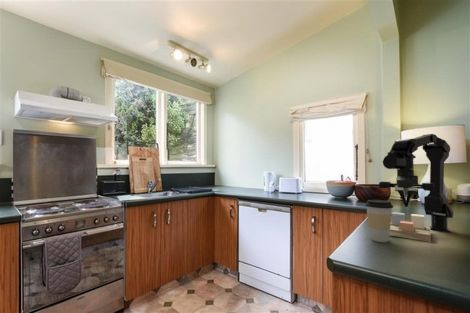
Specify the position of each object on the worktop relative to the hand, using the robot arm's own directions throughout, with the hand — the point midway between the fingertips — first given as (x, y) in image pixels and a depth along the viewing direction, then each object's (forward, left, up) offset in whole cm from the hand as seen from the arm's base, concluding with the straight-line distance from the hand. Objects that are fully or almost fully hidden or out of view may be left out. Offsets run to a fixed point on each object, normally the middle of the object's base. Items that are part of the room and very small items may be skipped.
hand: (406, 206), depth 100 cm
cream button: (-8, +4, -9) cm, 13 cm away
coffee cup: (+14, -8, -12) cm, 20 cm away
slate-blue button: (-8, -3, -9) cm, 13 cm away
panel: (-4, 0, -12) cm, 13 cm away
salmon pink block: (0, 0, -11) cm, 11 cm away
